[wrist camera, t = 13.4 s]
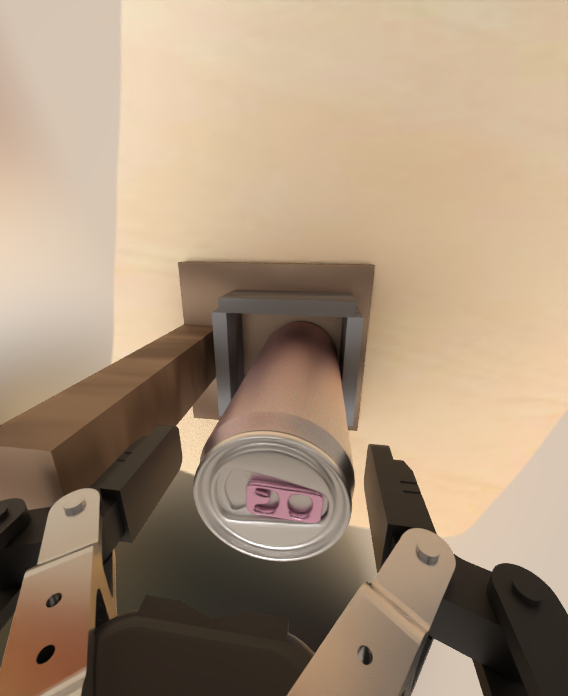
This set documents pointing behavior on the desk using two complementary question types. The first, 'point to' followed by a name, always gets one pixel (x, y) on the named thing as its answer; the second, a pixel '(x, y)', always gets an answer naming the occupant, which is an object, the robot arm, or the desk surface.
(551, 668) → the robot arm
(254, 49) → the desk surface
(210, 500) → the beverage can
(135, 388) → the post holder
